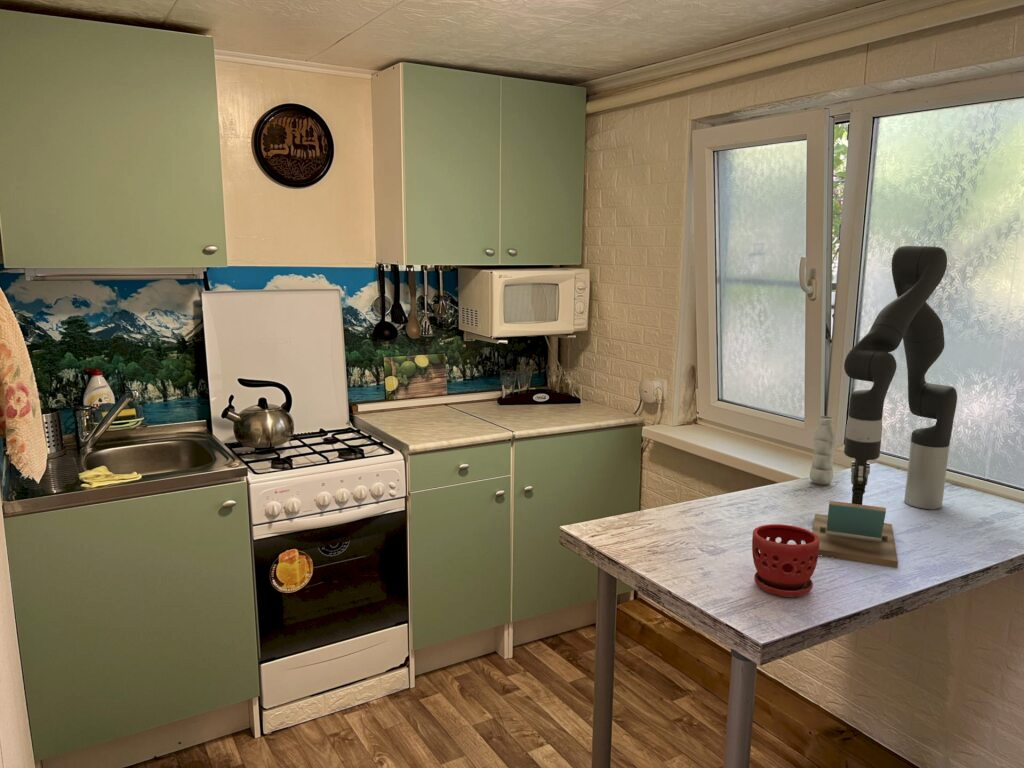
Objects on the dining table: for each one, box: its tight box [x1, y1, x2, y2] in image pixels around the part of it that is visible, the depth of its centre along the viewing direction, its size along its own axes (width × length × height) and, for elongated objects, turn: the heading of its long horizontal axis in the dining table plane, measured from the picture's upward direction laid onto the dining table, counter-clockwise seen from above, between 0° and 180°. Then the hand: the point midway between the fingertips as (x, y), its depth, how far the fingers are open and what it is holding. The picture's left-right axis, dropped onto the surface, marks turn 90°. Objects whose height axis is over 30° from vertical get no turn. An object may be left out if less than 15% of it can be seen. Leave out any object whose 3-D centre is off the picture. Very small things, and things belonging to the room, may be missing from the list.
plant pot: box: [751, 523, 819, 598], centre depth 162 cm, size 13×13×12 cm
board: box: [812, 513, 899, 569], centre depth 187 cm, size 24×18×3 cm
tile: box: [827, 500, 887, 538], centre depth 183 cm, size 10×12×1 cm
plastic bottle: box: [809, 415, 838, 486], centre depth 228 cm, size 6×7×20 cm
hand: (856, 507), depth 182 cm, fingers closed
